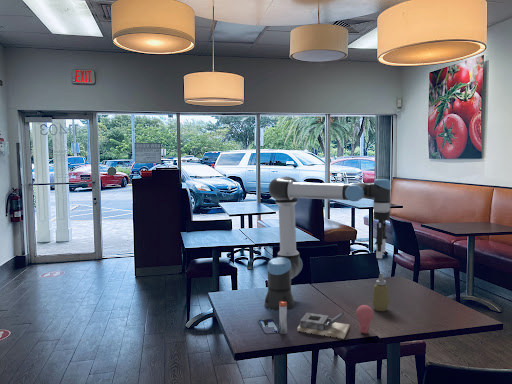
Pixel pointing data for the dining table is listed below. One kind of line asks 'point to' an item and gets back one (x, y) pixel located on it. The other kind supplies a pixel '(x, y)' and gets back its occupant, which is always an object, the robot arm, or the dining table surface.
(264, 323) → the smartphone
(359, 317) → the light bulb
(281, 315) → the pin
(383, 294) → the squeeze bottle
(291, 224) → the robot arm
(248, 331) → the dining table surface
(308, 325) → the block
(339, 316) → the tab
